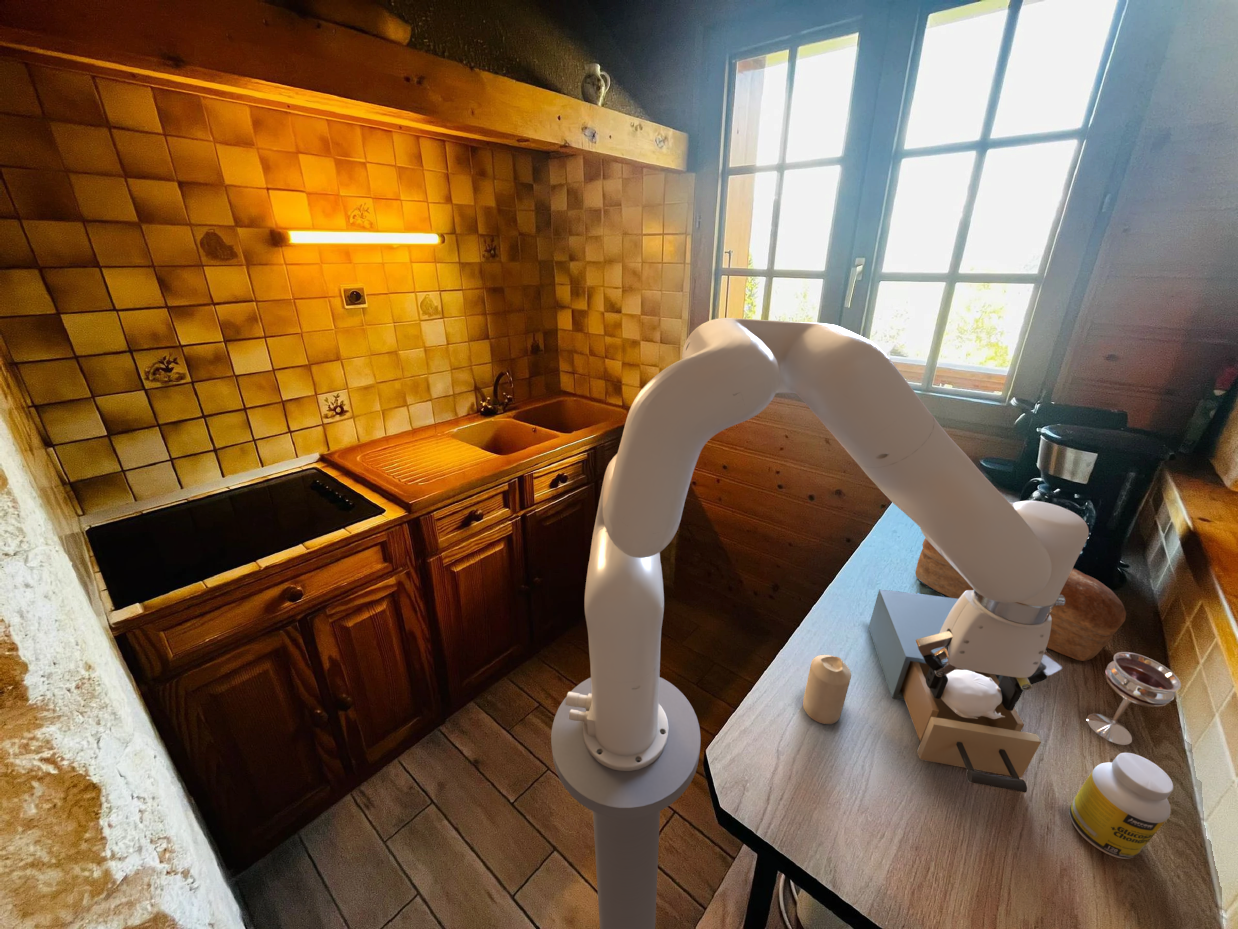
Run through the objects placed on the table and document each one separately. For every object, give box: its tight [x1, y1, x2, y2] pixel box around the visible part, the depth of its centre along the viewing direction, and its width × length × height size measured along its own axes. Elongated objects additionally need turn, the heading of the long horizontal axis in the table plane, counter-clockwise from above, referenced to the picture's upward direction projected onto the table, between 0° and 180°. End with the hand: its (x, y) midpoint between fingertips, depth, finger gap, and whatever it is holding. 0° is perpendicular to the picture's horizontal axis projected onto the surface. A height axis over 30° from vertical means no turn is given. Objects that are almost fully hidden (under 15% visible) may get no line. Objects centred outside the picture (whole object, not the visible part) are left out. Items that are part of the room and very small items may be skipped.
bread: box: [915, 537, 1127, 662], centre depth 92 cm, size 12×31×14 cm, turn 35°
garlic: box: [941, 670, 1005, 719], centre depth 67 cm, size 8×7×4 cm
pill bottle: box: [1068, 752, 1175, 860], centre depth 58 cm, size 6×6×12 cm
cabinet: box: [868, 589, 1003, 701], centre depth 81 cm, size 16×14×9 cm
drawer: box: [901, 661, 1042, 794], centre depth 69 cm, size 20×12×7 cm, turn 168°
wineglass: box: [1086, 651, 1182, 746], centre depth 70 cm, size 7×7×12 cm
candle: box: [802, 654, 852, 725], centre depth 74 cm, size 6×6×10 cm
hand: (967, 695), depth 68 cm, fingers closed on garlic, 8 cm apart
